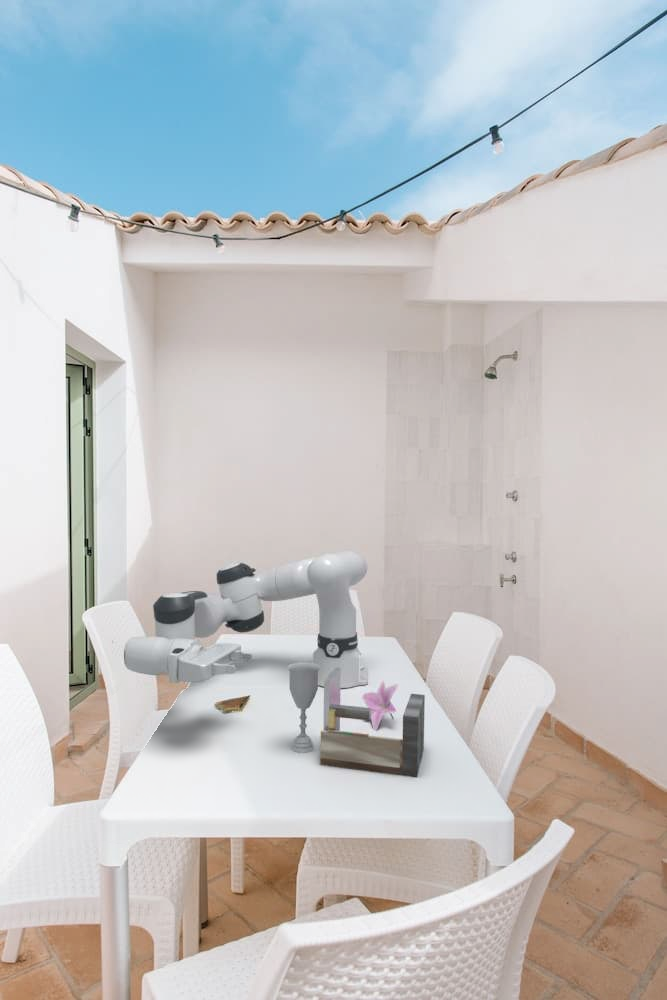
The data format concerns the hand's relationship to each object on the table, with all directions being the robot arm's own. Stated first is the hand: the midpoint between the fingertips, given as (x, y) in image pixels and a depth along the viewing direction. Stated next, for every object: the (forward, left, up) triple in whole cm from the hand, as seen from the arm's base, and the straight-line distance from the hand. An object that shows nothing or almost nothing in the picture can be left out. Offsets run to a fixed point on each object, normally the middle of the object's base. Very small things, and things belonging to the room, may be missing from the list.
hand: (243, 663), depth 136 cm
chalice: (0, +14, -18) cm, 23 cm away
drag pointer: (+5, +22, -16) cm, 28 cm away
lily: (-20, +28, -18) cm, 39 cm away
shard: (-20, -12, -18) cm, 30 cm away
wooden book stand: (0, +30, -18) cm, 35 cm away
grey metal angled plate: (0, +25, -16) cm, 29 cm away
